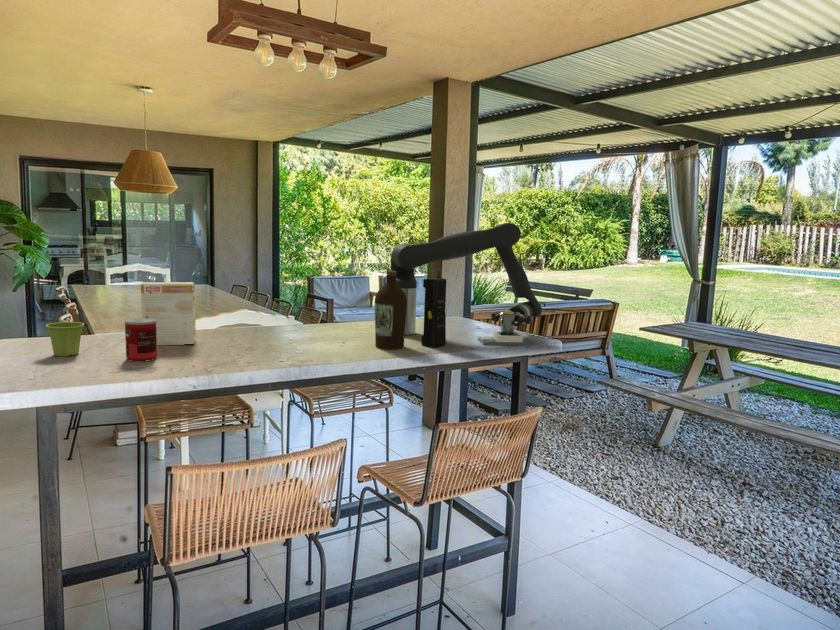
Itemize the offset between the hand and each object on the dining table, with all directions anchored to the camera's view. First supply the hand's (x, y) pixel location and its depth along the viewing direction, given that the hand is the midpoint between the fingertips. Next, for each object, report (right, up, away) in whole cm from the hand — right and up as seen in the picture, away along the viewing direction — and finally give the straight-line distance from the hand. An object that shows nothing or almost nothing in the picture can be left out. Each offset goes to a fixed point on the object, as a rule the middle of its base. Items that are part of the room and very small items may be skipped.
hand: (506, 320), depth 206 cm
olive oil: (-41, -9, -12) cm, 43 cm away
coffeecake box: (-110, -7, -18) cm, 112 cm away
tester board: (-2, -8, +3) cm, 9 cm away
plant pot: (-131, -10, -39) cm, 137 cm away
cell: (0, -7, +3) cm, 8 cm away
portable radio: (-26, -9, -7) cm, 28 cm away
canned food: (-109, -11, -41) cm, 116 cm away
